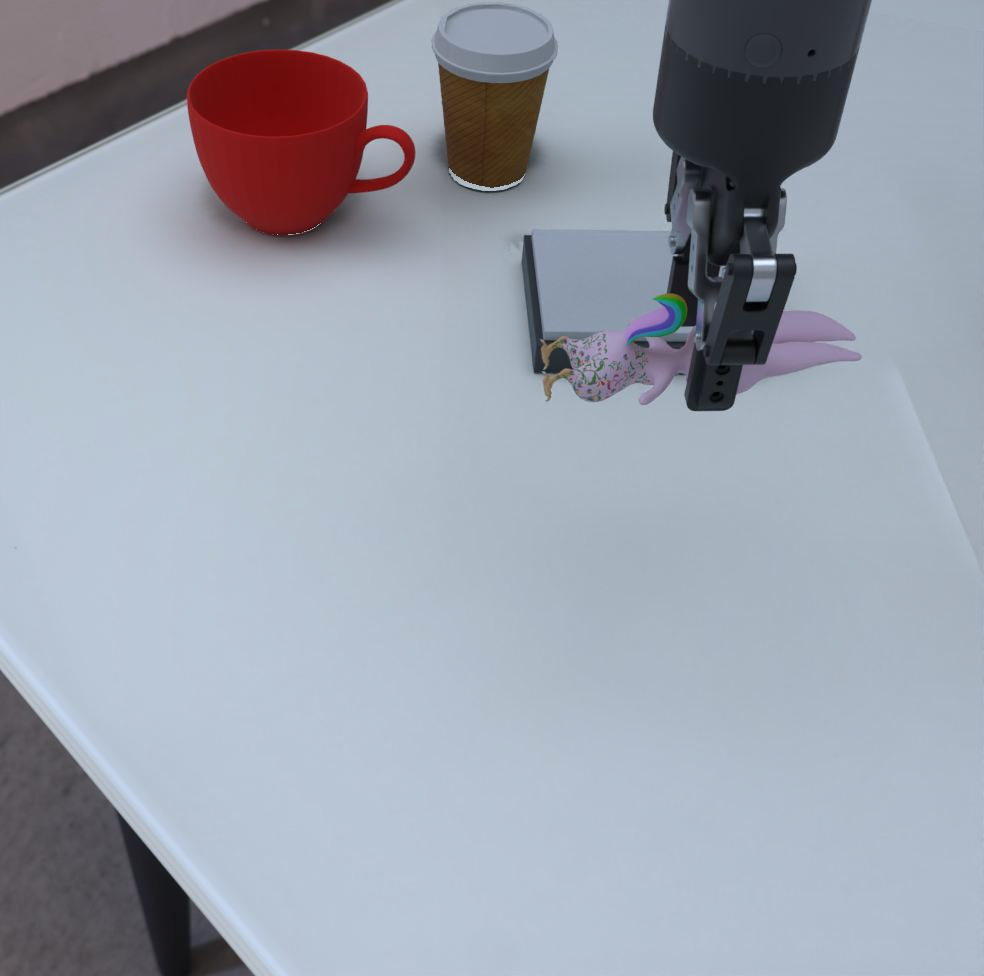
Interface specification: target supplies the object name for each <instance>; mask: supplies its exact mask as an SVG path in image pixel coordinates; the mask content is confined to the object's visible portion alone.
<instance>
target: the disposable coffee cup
mask: <svg viewBox="0 0 984 976" xmlns="http://www.w3.org/2000/svg"><path fill="white" fill-rule="evenodd" d="M431 48H432V52H433V53H434V56H435V60H436V61H437V66H438V67H437V68H438V75H439V85H440V97H441V107H442V117H443V126H444V135H445V137H444V138H445V149H446V157H447V166H448V165H449V168H450V169H451V170H452V172H453V173H454V174H456V176H458V177H460V178H461V179H463V180H464V181H467V182H469V183H472V184H476V185H479V186H485V187H490V188H494V187H500V186H504V185H509V184H511V183H513V182H516V181H518V180H520V179H521V178H522V177H523V176H524V174H525V173H526V174H527V171H526V170H528V165H529V162H530V156H531V154H532V153H531V152H532V148H533V143H534V138H535V135H536V131H537V126H538V120H539V116H540V112H541V109H542V103H543V98H544V94H545V89H546V86H547V85H546V84H547V82H548V76H549V72H550V68H551V66H552V65H553V63H554V60H555V59H556V57H557V56H558V53H559V43H558V41H557V39H556V37H555V31H554V27H553V24H552V22H551V21H550V20H549V19H548V18H547V17H546V16H544V15H543V14H542V13H540V12H538V11H536V10H534V9H532V8H529V7H526V6H522V5H519V4H515V3H507V2H499V1H497V2H495V1H481V2H474V3H466V4H463V5H461V6H457V7H455V8H453V9H451V10H449V11H448V12H446V13H445V14H444V15H442V17H440V19H439V22H438V25H437V28H436V31H435V32H434V33H433V35H432V37H431Z"/></svg>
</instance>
